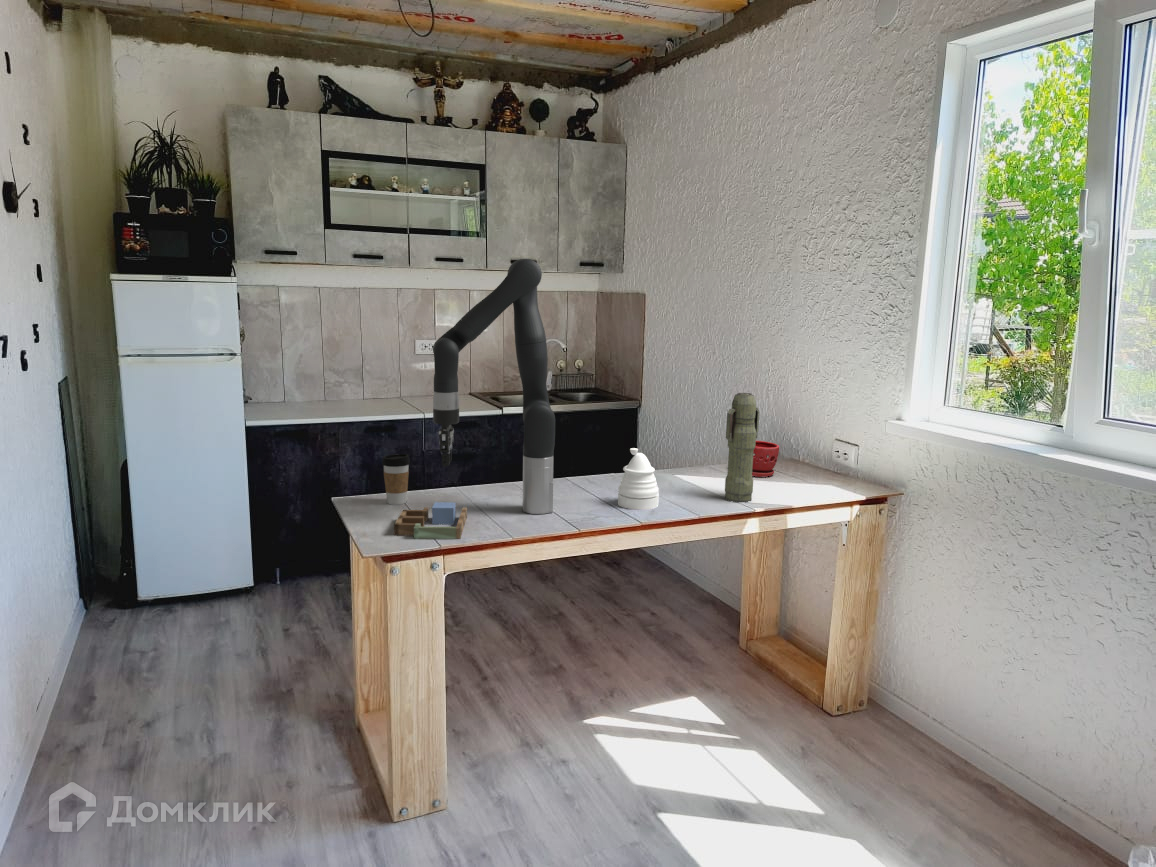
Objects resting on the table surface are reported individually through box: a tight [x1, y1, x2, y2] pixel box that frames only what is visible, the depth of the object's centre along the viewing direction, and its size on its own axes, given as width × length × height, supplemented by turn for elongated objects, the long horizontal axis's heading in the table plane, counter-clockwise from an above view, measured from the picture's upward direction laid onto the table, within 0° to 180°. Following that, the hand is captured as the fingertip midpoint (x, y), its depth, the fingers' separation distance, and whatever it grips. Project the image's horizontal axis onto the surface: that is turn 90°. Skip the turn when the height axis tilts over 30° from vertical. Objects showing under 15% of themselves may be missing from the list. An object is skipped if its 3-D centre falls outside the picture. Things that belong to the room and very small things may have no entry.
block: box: [431, 501, 457, 526], centre depth 226 cm, size 6×6×5 cm
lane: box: [393, 506, 468, 540], centre depth 220 cm, size 20×18×3 cm
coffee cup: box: [381, 453, 411, 506], centre depth 243 cm, size 8×8×15 cm
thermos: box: [724, 392, 760, 503], centre depth 254 cm, size 9×12×35 cm
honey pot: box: [617, 447, 660, 511], centre depth 247 cm, size 13×13×18 cm
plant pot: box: [752, 440, 780, 478], centre depth 292 cm, size 13×13×12 cm
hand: (446, 463), depth 231 cm, fingers open, 4 cm apart
